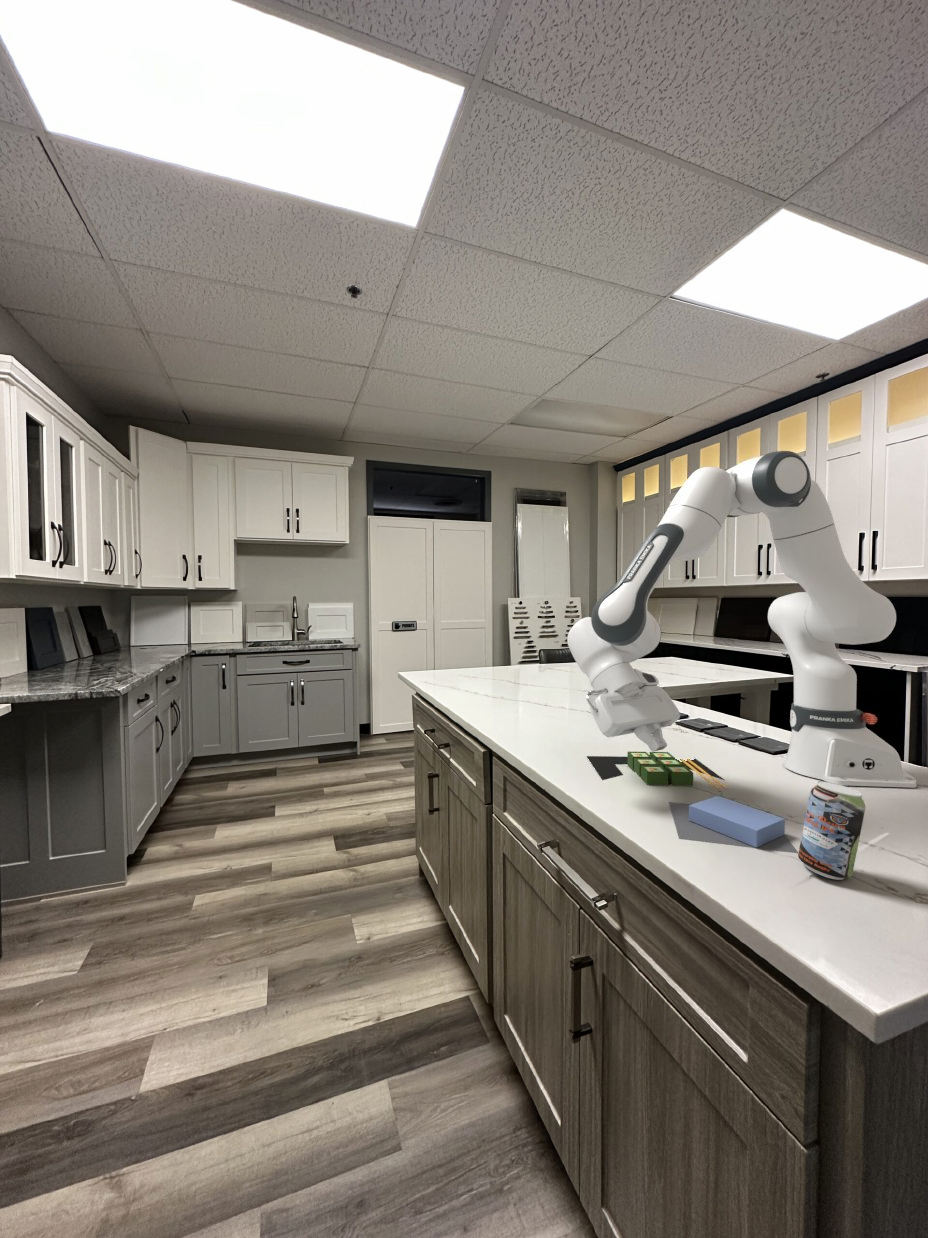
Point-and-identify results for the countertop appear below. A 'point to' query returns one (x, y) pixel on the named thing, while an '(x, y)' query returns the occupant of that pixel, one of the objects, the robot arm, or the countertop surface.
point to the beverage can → (832, 830)
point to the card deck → (737, 820)
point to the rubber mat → (704, 834)
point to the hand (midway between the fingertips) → (660, 749)
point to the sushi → (654, 768)
